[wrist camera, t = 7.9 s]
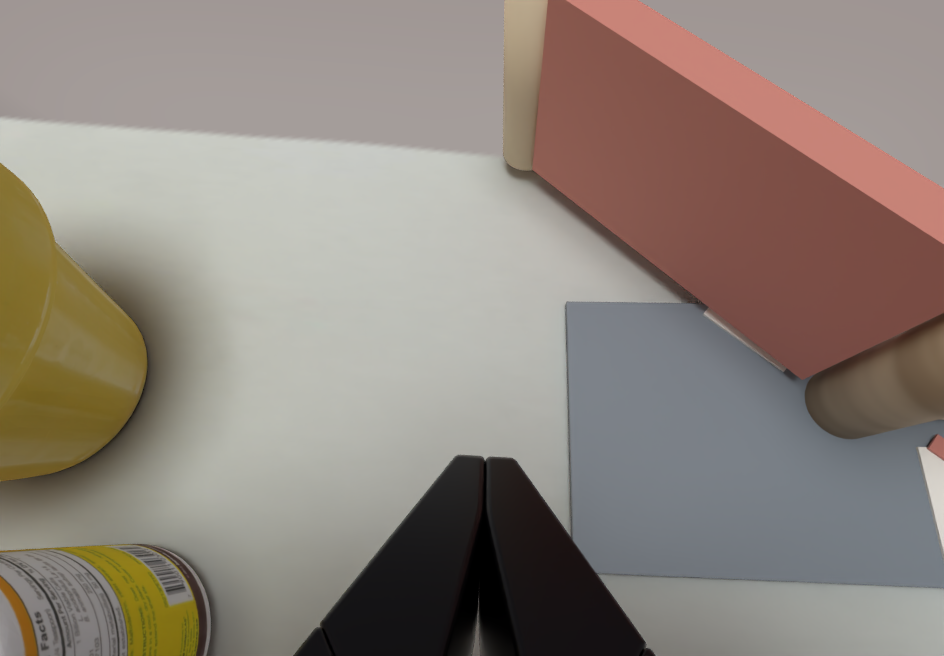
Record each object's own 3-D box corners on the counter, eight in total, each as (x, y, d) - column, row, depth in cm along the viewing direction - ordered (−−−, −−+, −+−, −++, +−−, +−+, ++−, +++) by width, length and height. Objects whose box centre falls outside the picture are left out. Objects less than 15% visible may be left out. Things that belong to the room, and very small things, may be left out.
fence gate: (823, 350, 18) (1053, 228, 11) (793, 388, 18) (1008, 288, 10) (524, 125, 22) (537, -82, 14) (493, 152, 22) (490, -47, 14)
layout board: (1171, 311, 19) (1192, 305, 18) (1298, 601, 16) (1328, 604, 15) (565, 302, 20) (567, 296, 19) (572, 571, 17) (574, 572, 16)
